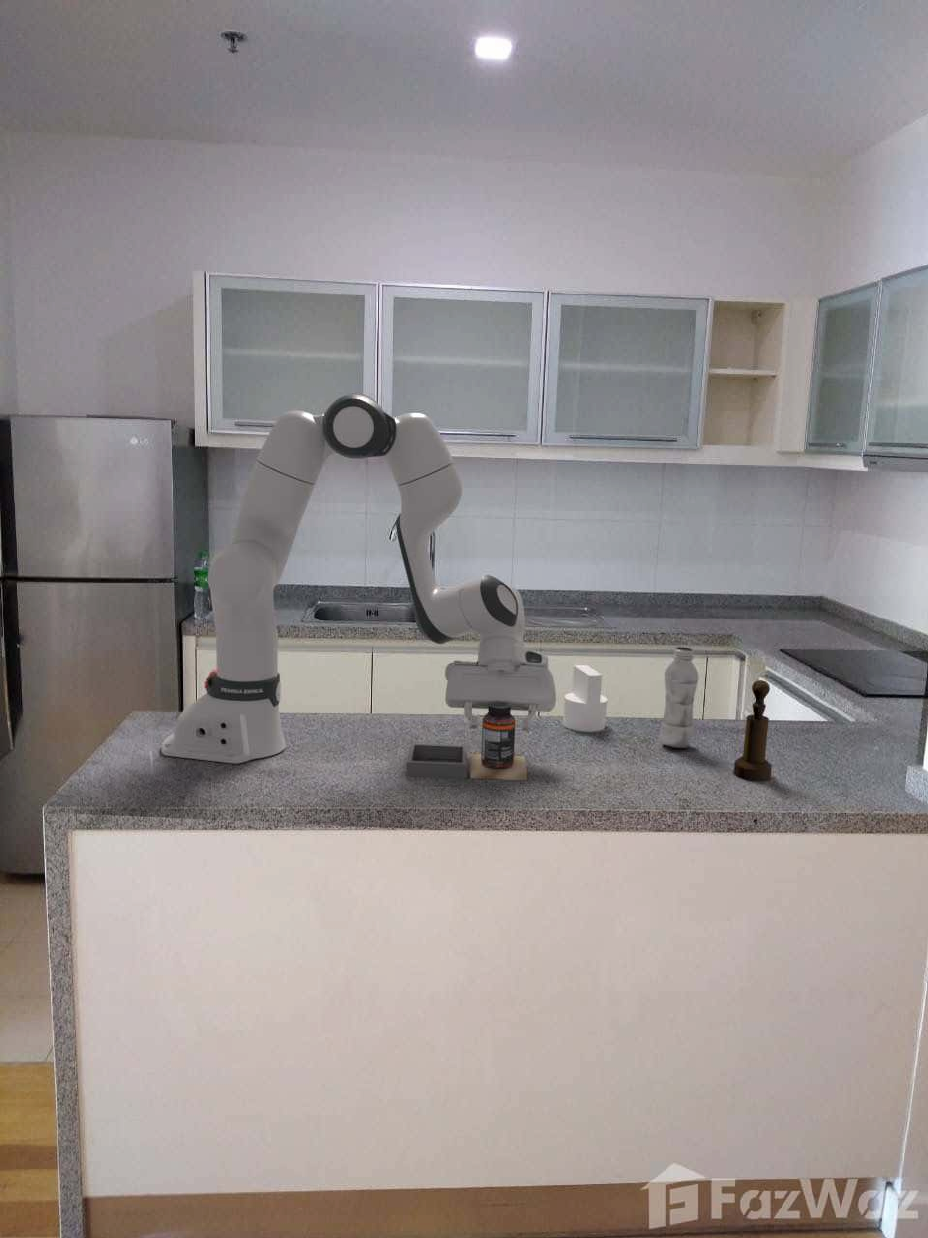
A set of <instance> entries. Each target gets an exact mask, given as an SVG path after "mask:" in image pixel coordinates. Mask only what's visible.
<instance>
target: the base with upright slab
mask: <svg viewBox="0 0 928 1238" xmlns="http://www.w3.org/2000/svg"><path fill="white" fill-rule="evenodd" d="M602 680H603V674H601V673H600V672H598V671H597V670H595V669H594V668H592V667H590V666H589V665H587V664H584V665H583V664H577V665H576V664H575V665H573V678H572V691H571V692H569V693H567V694H565V695H564V703H563V719H562V725H563V726H564V727H565V728H567V729H570V730H574V731H578V732H587V733H588V732H590V733H591V732H599V731H600V732H601V731H603V730H605V729H606V723H607V722H606V721H607V710H608V709H607V708H608V698H607V697H606V696H604V695H602V683H603V681H602Z"/></svg>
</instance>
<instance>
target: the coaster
mask: <svg viewBox="0 0 928 1238" xmlns="http://www.w3.org/2000/svg"><path fill="white" fill-rule="evenodd" d="M469 761H470V765H469V766H470V769H469V773H470V774H469V775H470V777H469V778H470V779H482V780H483V779H484V780H508V781H528V773H527V763H526V760H525V756H524V755H523V756H521V755H514V762H513V765H511V766H510V767H507V768H501V769H494V768H490V767H487V766H485V765H483V764H482V762H481V754H479V753H471V754H470V760H469Z"/></svg>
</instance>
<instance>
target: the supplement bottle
mask: <svg viewBox="0 0 928 1238" xmlns="http://www.w3.org/2000/svg"><path fill="white" fill-rule="evenodd" d="M487 710H488V712H487V713H486V714H484V716H483V717H482V728H481V729H482V733H481V749H480V752H481V762H482V764H483V765H485V766H487V767H490V768H494V769H501V768H507V767H510V766H511V765H513V762H514V756H515V744H516V742H515V740H516V718H515V716H514V715H512V713H511V712H512V710H511V705H510V704H509V703H506V702H500V701H496V702H491V703H489V709H487Z"/></svg>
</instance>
